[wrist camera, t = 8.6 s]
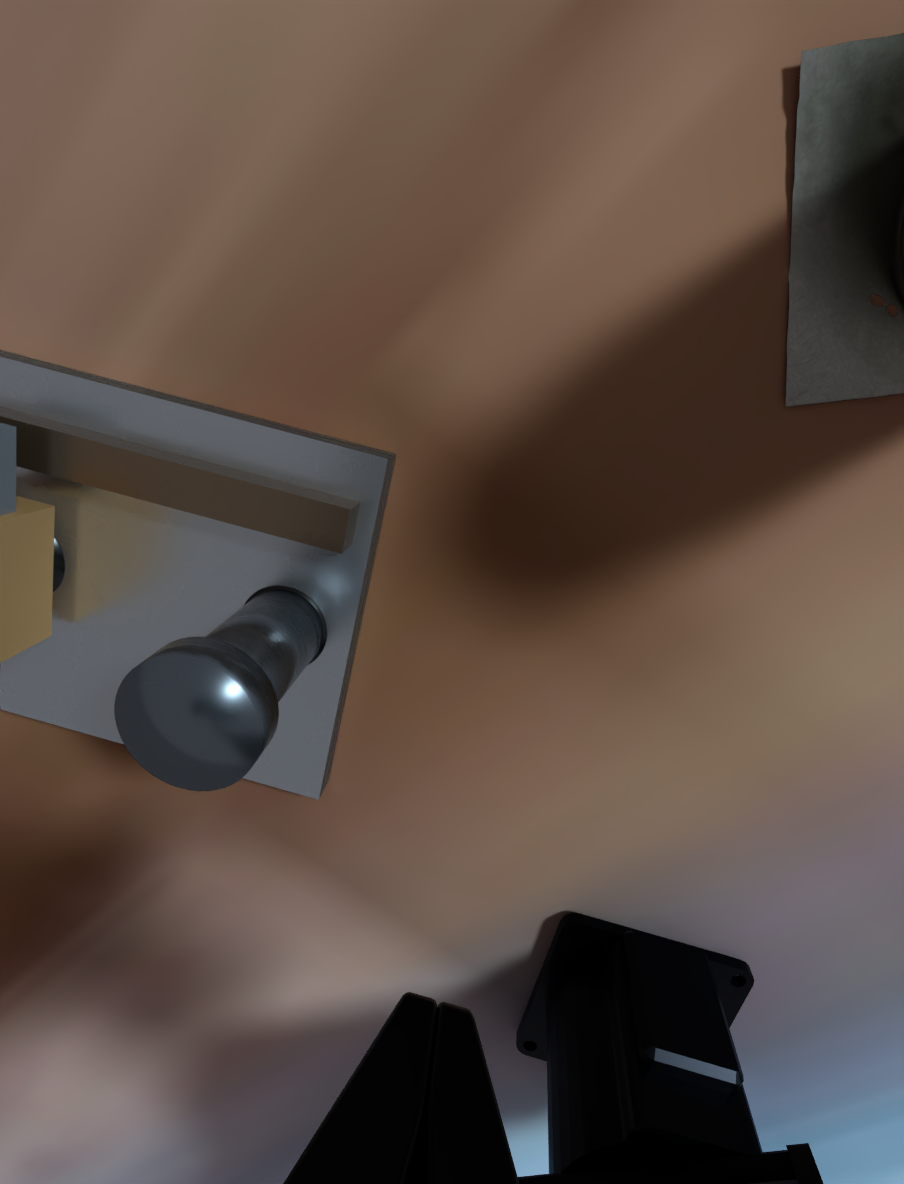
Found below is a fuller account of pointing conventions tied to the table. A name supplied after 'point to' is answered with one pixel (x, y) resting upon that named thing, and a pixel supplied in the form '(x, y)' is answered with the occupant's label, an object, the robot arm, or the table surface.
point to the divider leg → (23, 559)
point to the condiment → (848, 224)
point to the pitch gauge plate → (192, 577)
